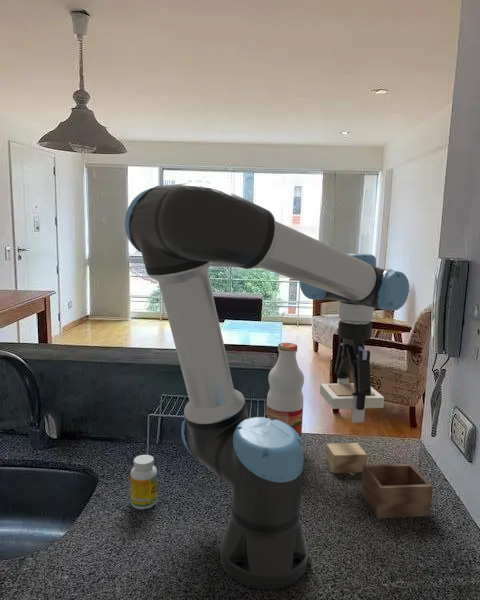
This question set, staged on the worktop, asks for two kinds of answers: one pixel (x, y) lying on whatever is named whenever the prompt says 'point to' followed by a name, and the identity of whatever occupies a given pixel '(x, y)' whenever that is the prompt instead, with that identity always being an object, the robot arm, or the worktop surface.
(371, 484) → the box
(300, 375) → the fruit juice
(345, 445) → the block
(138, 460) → the supplement bottle
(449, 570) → the worktop surface
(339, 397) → the lid
